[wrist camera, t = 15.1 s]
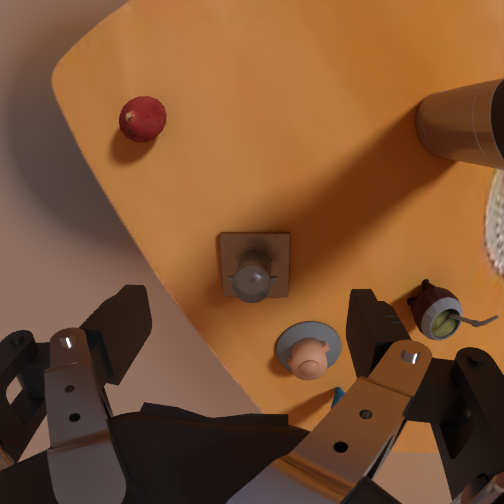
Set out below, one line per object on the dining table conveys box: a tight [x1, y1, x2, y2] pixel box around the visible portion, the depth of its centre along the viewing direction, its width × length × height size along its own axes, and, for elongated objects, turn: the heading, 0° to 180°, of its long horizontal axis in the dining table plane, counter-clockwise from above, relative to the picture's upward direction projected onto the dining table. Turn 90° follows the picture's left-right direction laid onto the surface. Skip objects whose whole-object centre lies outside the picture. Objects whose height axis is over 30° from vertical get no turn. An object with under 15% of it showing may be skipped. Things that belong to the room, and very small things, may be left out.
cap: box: [288, 337, 330, 380], centre depth 45 cm, size 5×7×5 cm
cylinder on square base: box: [220, 232, 289, 303], centre depth 41 cm, size 9×9×7 cm
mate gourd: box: [407, 279, 499, 340], centre depth 36 cm, size 8×8×15 cm
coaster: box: [277, 321, 341, 371], centre depth 48 cm, size 10×10×1 cm
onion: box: [119, 96, 166, 142], centre depth 35 cm, size 6×6×8 cm
